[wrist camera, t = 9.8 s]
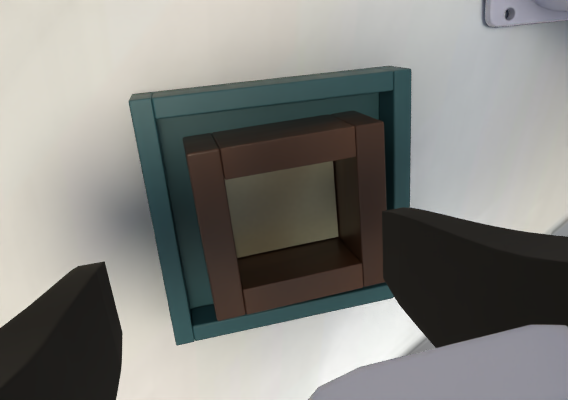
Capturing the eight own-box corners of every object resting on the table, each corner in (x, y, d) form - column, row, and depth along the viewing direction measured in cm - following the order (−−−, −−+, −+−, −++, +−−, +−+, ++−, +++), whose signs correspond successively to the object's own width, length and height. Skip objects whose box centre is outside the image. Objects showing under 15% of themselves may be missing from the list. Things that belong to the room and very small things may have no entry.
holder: (390, 65, 21) (412, 68, 19) (390, 275, 24) (409, 295, 23) (131, 94, 19) (128, 100, 17) (175, 320, 22) (176, 345, 20)
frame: (354, 109, 20) (384, 121, 18) (362, 252, 23) (389, 281, 20) (182, 137, 19) (185, 154, 16) (210, 286, 22) (217, 322, 19)
